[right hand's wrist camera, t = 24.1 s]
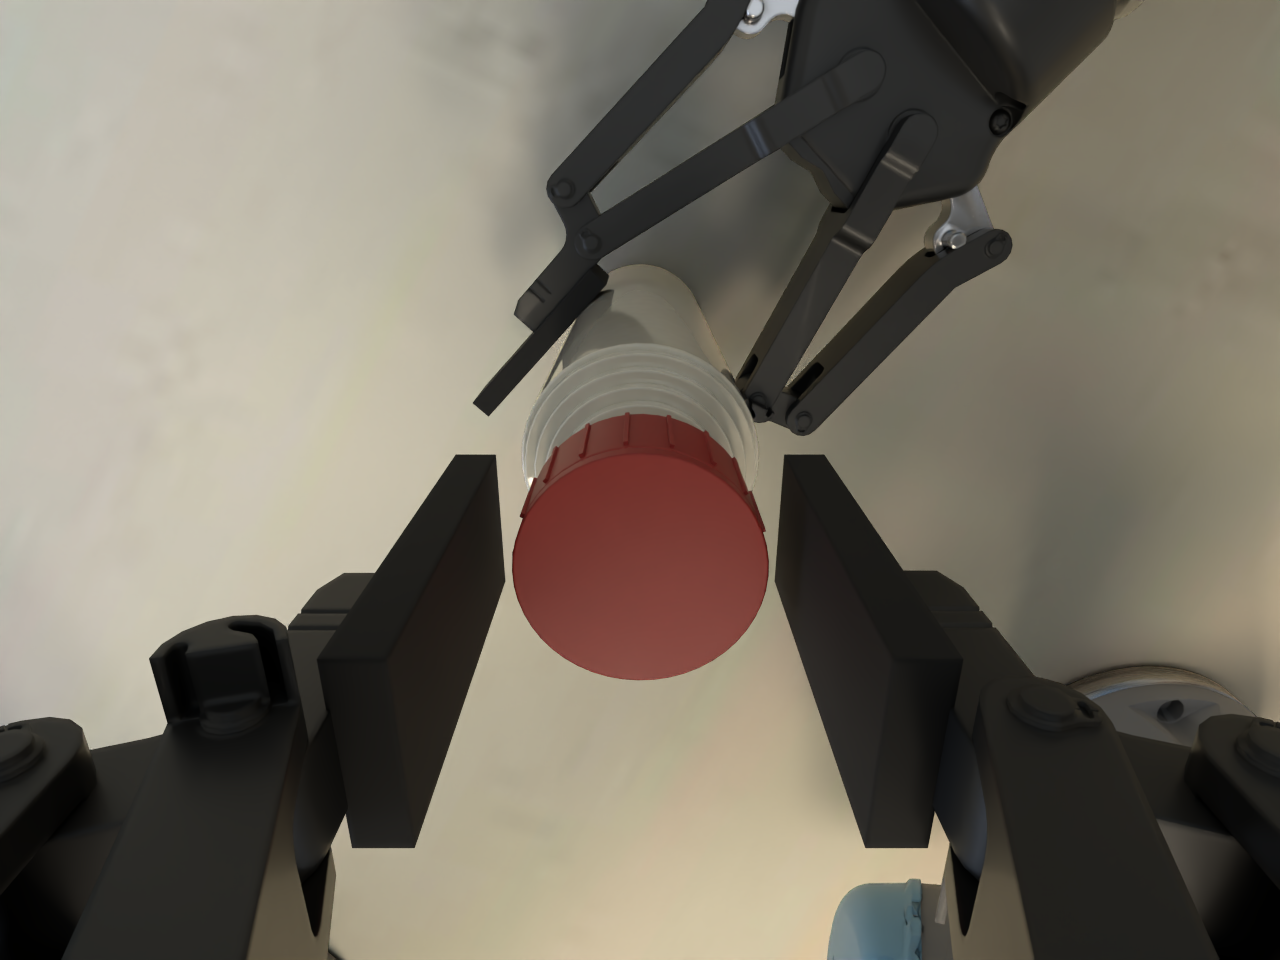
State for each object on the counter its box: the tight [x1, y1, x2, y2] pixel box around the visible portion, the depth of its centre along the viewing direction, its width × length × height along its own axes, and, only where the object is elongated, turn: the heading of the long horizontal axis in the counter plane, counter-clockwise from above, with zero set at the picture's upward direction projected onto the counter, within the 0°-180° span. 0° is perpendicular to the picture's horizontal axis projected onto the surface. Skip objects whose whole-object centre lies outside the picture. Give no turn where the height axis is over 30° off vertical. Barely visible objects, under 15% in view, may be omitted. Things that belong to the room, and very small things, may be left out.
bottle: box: [522, 264, 759, 492], centre depth 24 cm, size 6×6×22 cm
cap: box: [512, 412, 769, 680], centre depth 14 cm, size 4×4×2 cm
